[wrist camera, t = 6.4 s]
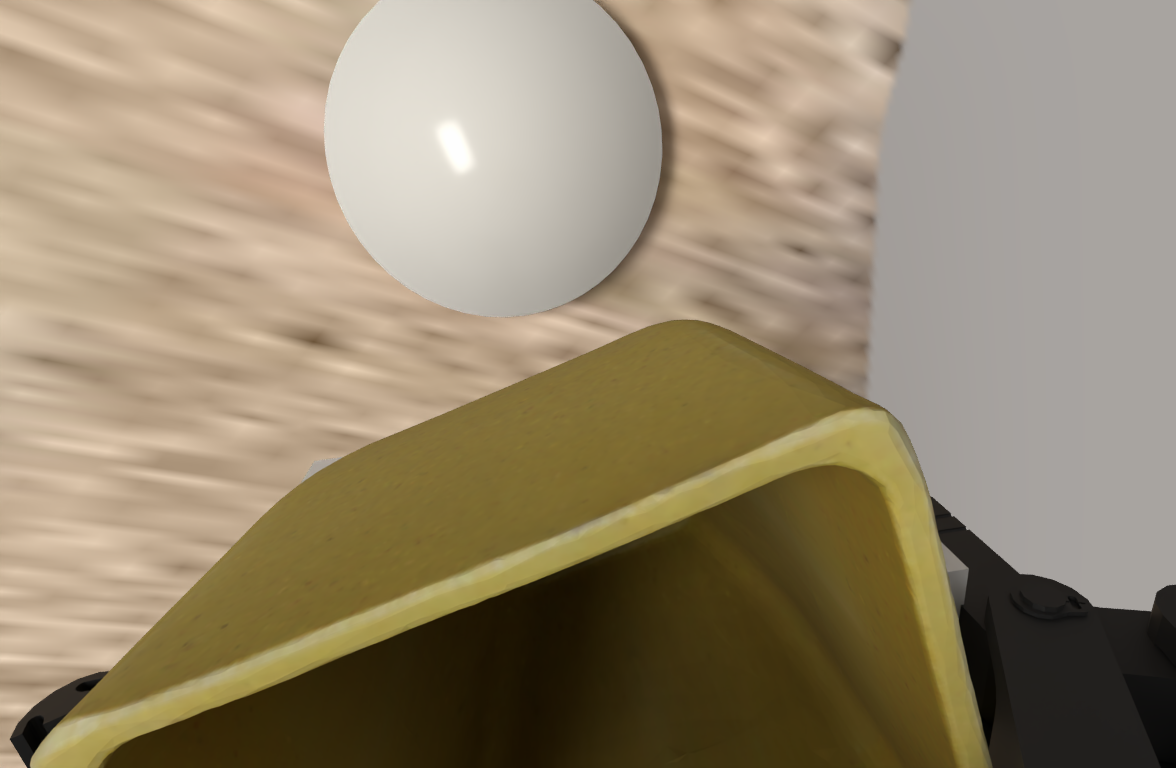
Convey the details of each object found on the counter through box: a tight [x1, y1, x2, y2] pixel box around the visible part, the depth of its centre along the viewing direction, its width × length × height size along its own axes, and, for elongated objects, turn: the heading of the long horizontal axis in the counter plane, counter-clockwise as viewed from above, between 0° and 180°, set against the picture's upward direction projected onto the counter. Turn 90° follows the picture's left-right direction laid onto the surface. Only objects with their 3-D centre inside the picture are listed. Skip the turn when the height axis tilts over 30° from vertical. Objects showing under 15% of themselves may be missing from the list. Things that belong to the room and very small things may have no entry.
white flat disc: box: [324, 0, 662, 317], centre depth 28 cm, size 14×14×1 cm
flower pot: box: [30, 320, 993, 768], centre depth 11 cm, size 9×9×9 cm
